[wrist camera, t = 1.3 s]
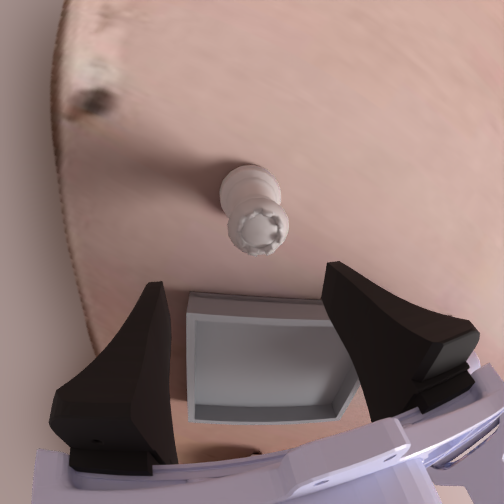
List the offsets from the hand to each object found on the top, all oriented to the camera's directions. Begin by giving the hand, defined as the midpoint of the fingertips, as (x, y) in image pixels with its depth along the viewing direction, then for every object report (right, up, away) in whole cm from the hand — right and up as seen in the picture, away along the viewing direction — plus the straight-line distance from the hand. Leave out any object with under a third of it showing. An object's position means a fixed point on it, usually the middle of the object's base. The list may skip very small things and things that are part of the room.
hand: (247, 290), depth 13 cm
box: (+3, -10, +17) cm, 20 cm away
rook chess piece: (0, +6, +10) cm, 11 cm away
